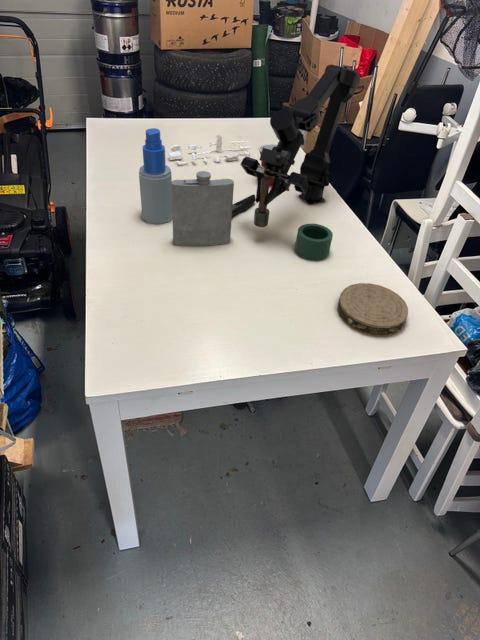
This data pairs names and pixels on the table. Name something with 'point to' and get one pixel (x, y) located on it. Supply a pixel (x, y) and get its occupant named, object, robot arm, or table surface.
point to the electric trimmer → (243, 204)
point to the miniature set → (177, 155)
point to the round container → (313, 241)
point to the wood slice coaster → (372, 309)
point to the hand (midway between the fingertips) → (260, 203)
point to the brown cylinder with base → (262, 205)
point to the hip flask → (202, 210)
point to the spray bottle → (155, 181)
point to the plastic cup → (268, 146)
